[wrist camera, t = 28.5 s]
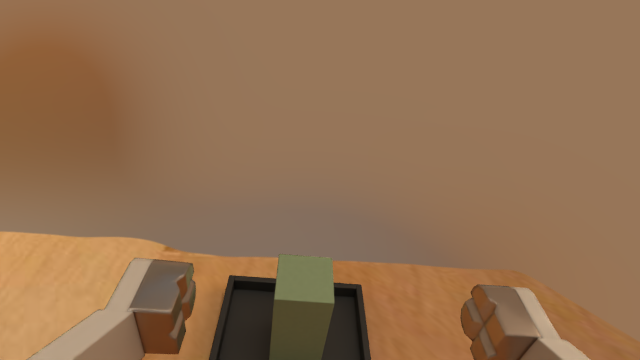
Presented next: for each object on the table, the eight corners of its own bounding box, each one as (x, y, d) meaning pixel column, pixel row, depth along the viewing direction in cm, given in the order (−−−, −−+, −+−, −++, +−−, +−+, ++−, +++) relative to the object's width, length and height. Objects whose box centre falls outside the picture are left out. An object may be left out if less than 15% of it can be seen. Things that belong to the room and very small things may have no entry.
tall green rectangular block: (268, 368, 32) (273, 299, 26) (273, 323, 36) (279, 253, 30) (318, 371, 33) (334, 303, 27) (318, 326, 36) (332, 257, 31)
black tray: (197, 424, 29) (195, 412, 27) (229, 287, 39) (229, 275, 38) (373, 431, 30) (378, 420, 29) (357, 296, 41) (361, 284, 39)
